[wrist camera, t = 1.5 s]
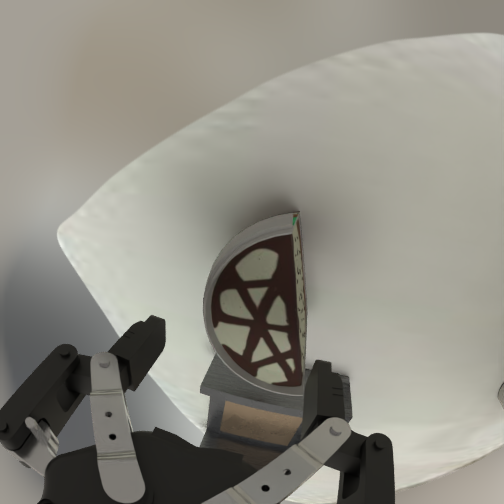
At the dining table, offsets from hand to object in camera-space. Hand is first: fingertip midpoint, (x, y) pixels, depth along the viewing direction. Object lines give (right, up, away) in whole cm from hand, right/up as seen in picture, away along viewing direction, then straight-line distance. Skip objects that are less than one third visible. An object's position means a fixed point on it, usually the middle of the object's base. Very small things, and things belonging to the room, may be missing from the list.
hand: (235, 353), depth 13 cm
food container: (+2, +4, +12) cm, 12 cm away
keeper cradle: (+3, -15, +18) cm, 24 cm away
